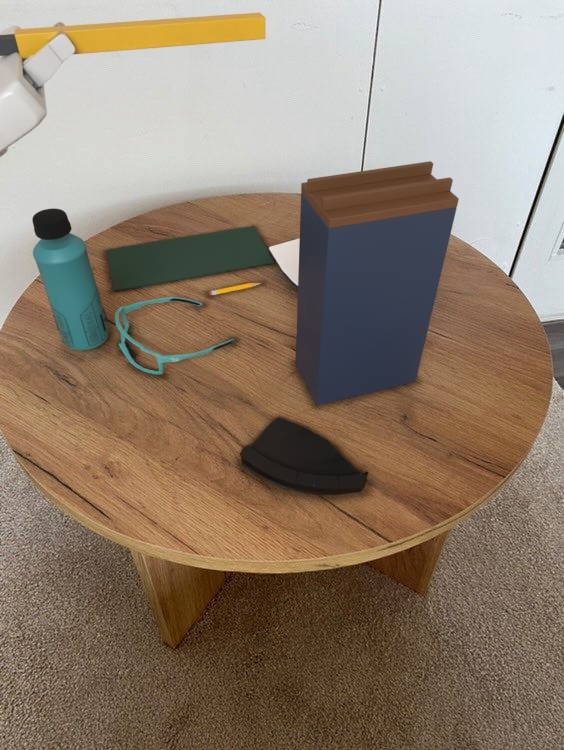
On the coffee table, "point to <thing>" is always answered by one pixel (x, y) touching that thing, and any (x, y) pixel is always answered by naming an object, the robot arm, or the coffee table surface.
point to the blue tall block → (369, 276)
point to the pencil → (232, 288)
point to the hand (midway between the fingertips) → (68, 34)
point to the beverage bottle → (69, 281)
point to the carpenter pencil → (140, 34)
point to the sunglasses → (160, 358)
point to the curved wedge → (300, 461)
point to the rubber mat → (186, 258)
